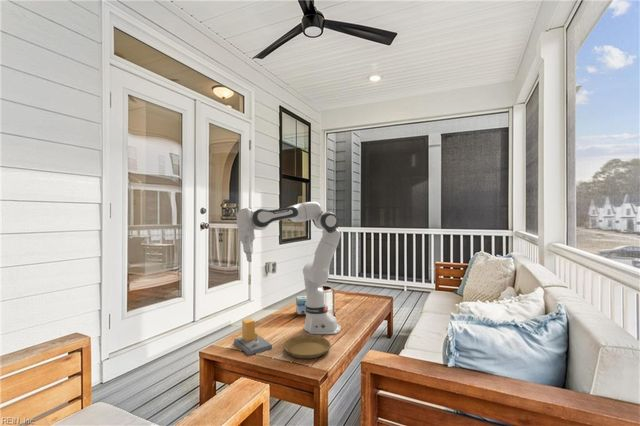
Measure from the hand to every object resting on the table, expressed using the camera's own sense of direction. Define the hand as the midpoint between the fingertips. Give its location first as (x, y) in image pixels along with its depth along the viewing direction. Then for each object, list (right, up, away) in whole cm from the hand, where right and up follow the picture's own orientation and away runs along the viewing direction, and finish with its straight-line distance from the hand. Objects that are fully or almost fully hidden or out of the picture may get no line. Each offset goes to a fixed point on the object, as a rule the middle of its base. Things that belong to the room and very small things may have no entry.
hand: (249, 261), depth 179 cm
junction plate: (+3, -44, -7) cm, 45 cm away
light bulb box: (+28, -43, +48) cm, 71 cm away
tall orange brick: (0, -42, -3) cm, 42 cm away
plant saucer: (+33, -44, -13) cm, 56 cm away
